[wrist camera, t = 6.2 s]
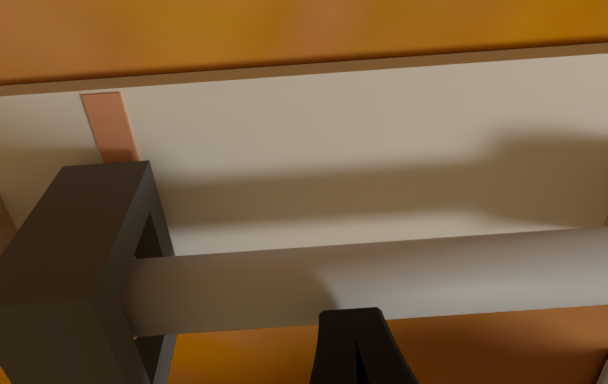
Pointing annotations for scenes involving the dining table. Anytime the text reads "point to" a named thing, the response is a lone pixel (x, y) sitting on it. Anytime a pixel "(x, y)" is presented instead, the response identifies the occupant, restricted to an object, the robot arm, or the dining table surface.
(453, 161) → the pipe rig
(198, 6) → the dining table surface
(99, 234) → the grey square collar
